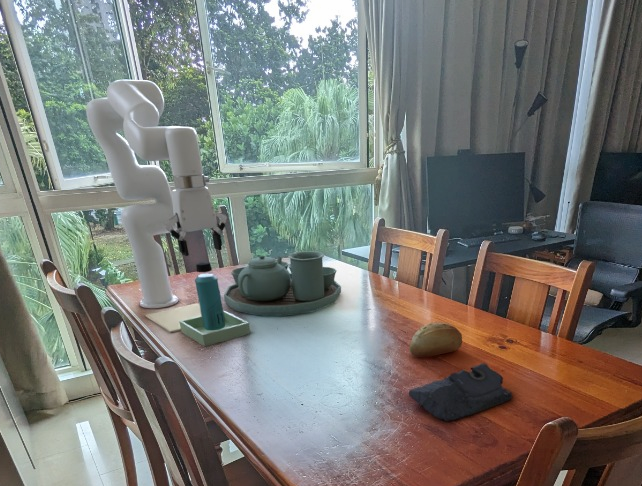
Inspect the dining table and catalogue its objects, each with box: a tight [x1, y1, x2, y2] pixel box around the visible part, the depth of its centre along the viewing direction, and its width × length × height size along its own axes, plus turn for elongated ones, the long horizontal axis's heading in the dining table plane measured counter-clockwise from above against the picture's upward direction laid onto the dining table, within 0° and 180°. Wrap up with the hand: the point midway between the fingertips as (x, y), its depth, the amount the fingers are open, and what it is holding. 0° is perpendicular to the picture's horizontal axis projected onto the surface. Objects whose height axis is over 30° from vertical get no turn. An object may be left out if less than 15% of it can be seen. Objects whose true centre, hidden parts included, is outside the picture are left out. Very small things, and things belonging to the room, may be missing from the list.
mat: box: [145, 302, 202, 334], centre depth 163 cm, size 20×20×1 cm
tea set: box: [223, 250, 342, 317], centre depth 174 cm, size 40×40×16 cm
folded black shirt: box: [408, 362, 513, 422], centre depth 112 cm, size 15×22×5 cm
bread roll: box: [409, 321, 463, 358], centre depth 132 cm, size 10×15×8 cm, turn 114°
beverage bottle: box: [194, 261, 225, 330], centre depth 146 cm, size 6×7×20 cm
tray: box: [179, 309, 251, 347], centre depth 150 cm, size 16×15×3 cm
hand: (202, 252), depth 139 cm, fingers open, 9 cm apart
